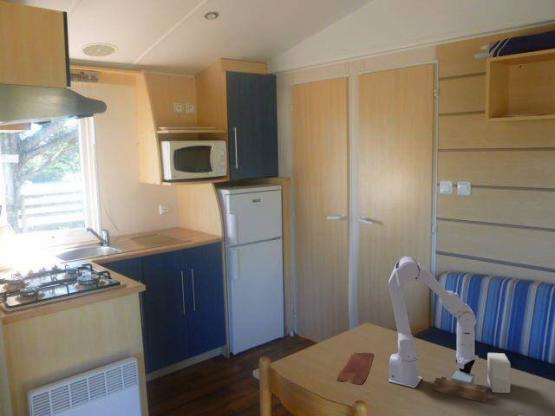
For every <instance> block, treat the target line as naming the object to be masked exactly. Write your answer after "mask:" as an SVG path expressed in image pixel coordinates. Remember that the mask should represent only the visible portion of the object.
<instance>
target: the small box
mask: <svg viewBox="0 0 555 416" xmlns="http://www.w3.org/2000/svg"><path fill="white" fill-rule="evenodd" d="M486 356H487V361H486V363H487V377H486V378H487V380H486V381H487V383H488V384H489V387H490V389H491V391H492V393H498V394H499V393H500V394H501V393H502V394H503V393H504V394H511V361H510V360H509V359H508V357H507V355H506V354H505V353H502V352H501V353H499V352H487V355H486Z"/></svg>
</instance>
